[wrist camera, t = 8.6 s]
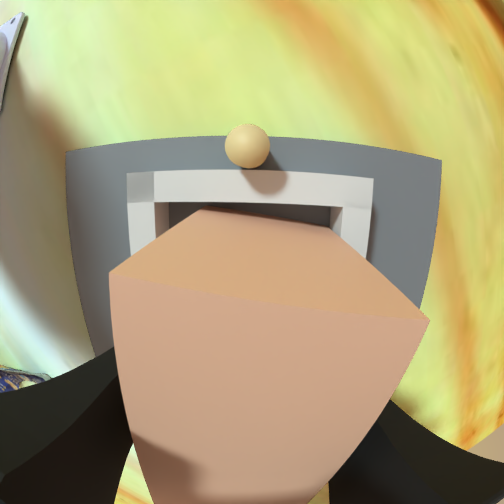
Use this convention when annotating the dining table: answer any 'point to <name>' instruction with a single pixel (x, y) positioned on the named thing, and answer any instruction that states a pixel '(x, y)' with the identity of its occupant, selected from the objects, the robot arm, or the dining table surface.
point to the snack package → (17, 378)
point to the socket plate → (247, 201)
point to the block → (254, 356)
